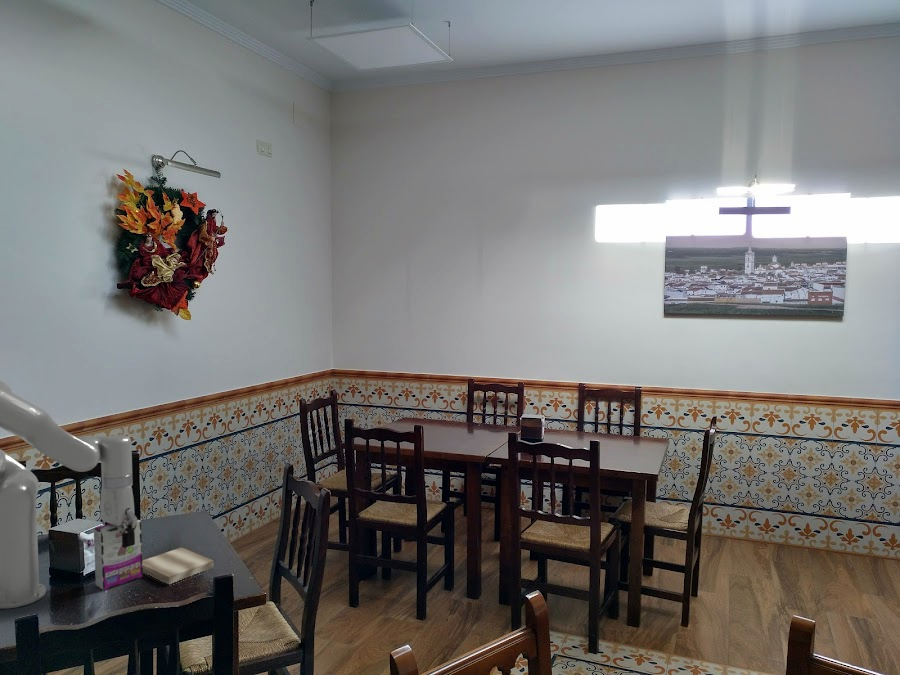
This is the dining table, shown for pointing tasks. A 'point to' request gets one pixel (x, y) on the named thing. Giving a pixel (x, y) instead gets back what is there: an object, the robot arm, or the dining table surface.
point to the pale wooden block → (176, 565)
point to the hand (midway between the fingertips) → (119, 541)
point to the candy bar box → (116, 556)
